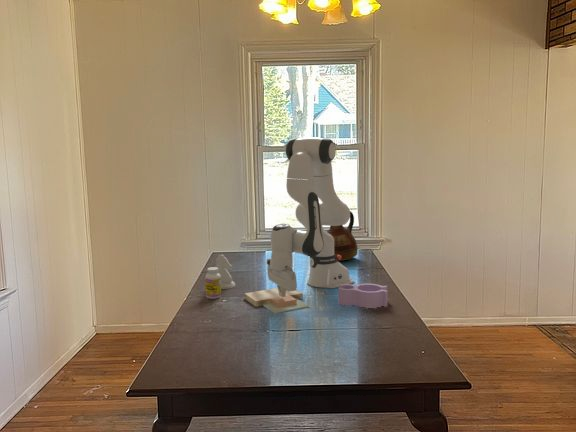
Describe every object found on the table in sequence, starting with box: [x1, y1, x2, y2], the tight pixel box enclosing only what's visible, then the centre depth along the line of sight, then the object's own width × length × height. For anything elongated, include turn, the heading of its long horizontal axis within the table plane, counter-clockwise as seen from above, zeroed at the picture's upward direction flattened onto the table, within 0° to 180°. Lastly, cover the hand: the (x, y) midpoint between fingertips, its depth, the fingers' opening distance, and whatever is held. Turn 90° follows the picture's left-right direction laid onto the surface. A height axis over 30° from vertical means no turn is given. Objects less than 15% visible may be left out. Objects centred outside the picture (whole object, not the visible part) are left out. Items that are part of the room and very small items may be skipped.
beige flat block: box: [244, 287, 304, 308], centre depth 219 cm, size 22×12×2 cm, turn 117°
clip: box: [337, 283, 388, 309], centre depth 211 cm, size 20×12×7 cm, turn 80°
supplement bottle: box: [205, 266, 222, 300], centre depth 221 cm, size 7×7×13 cm
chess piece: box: [215, 254, 236, 290], centre depth 237 cm, size 10×10×15 cm
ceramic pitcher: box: [326, 210, 358, 262], centre depth 283 cm, size 20×20×30 cm
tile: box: [271, 296, 297, 308], centre depth 210 cm, size 9×6×2 cm, turn 116°
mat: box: [262, 298, 310, 314], centre depth 209 cm, size 16×11×1 cm
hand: (282, 295), depth 211 cm, fingers closed
